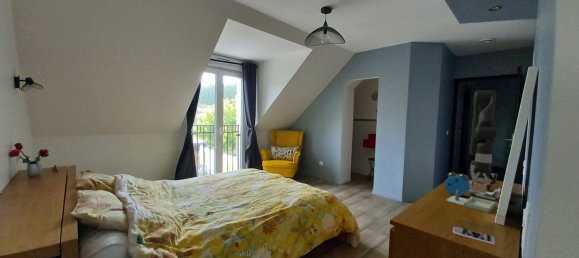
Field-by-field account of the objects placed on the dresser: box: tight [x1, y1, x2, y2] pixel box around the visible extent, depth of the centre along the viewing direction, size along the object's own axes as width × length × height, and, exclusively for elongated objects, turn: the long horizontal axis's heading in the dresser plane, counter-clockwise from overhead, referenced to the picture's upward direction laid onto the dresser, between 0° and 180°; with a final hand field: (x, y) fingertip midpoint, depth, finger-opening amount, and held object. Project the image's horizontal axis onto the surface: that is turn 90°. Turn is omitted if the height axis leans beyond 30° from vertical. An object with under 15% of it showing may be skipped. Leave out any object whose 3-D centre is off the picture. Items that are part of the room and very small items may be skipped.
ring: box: [471, 180, 488, 193], centre depth 141 cm, size 11×6×4 cm, turn 130°
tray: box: [463, 196, 496, 214], centre depth 142 cm, size 16×12×2 cm
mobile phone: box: [452, 226, 496, 245], centre depth 109 cm, size 8×1×15 cm
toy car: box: [468, 180, 502, 203], centre depth 159 cm, size 18×10×12 cm
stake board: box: [445, 190, 469, 206], centre depth 150 cm, size 13×9×7 cm
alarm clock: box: [444, 171, 471, 197], centre depth 161 cm, size 13×6×15 cm, turn 45°
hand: (480, 188), depth 141 cm, fingers closed on ring, 6 cm apart
